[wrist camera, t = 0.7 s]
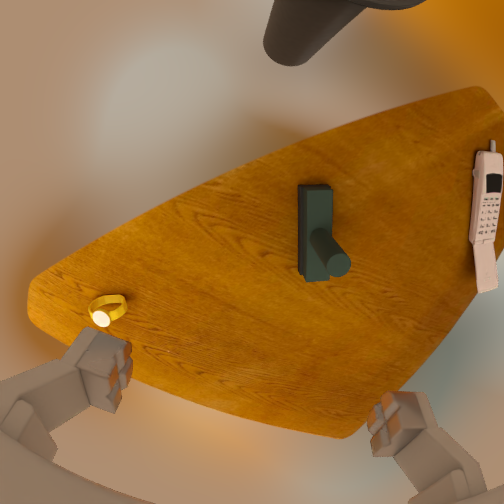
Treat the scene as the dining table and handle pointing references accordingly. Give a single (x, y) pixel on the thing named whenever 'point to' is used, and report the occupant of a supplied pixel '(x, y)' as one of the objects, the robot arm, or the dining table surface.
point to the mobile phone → (486, 215)
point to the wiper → (318, 236)
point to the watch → (103, 316)
